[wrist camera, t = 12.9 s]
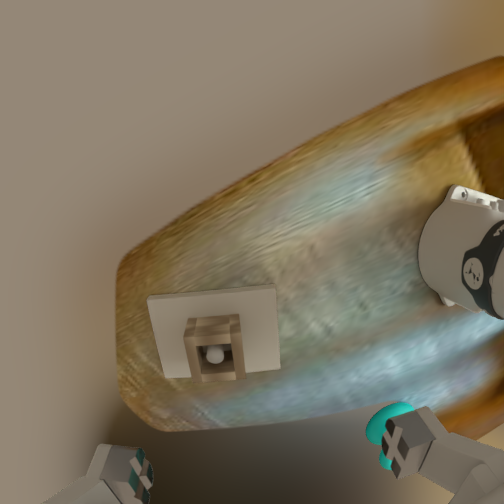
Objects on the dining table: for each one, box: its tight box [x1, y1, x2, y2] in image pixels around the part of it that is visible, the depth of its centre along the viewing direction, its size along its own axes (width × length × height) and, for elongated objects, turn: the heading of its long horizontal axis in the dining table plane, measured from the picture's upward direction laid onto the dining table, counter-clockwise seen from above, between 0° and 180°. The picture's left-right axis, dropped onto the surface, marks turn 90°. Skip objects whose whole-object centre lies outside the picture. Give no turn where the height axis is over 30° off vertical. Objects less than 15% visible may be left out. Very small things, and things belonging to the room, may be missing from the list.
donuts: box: [366, 402, 414, 470], centre depth 43 cm, size 10×10×10 cm
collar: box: [183, 314, 246, 383], centre depth 37 cm, size 6×6×5 cm
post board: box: [147, 284, 280, 378], centre depth 37 cm, size 16×12×6 cm
